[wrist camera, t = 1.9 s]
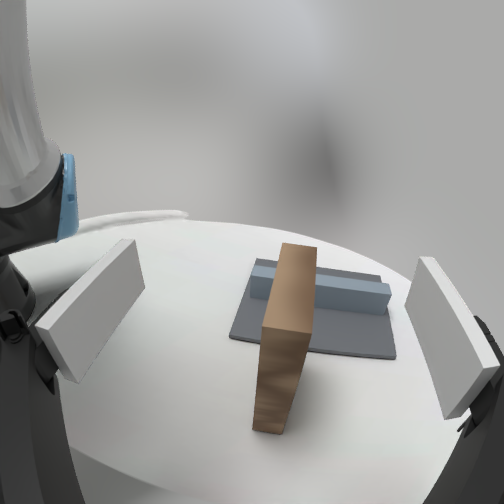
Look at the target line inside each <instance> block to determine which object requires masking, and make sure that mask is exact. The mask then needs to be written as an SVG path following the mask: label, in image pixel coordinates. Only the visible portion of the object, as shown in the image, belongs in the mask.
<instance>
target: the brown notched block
mask: <svg viewBox="0 0 504 504" xmlns="http://www.w3.org/2000/svg"><path fill="white" fill-rule="evenodd" d="M316 259H317V247H310V246H303V245H296V244H289V243H282V247H281V251H280V255H279V260H278V264H277V268H276V272H275V276H274V280H273V284H272V288H271V292H270V296H269V300H268V304H267V308H266V312H265V316H264V320H263V324H262V331H261V343H260V354H259V365H258V376H257V386H256V397H255V407H254V417H253V427H252V430H258V431H263V432H269V433H276V434H282V431H283V428H284V426H285V423H286V420H287V417H288V414H289V410H290V407H291V404H292V401H293V398H294V395H295V392H296V388H297V385H298V382H299V378H300V375H301V372H302V368H303V365H304V361H305V358H306V354H307V351H308V347H309V343H310V340H311V336H312V328H313V315H314V299H315V282H316Z"/></svg>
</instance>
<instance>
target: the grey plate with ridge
mask: <svg viewBox="0 0 504 504" xmlns="http://www.w3.org/2000/svg"><path fill="white" fill-rule="evenodd" d="M277 264H278V261H272V260H265V259H258V258H257V259H256V261H255V264H254V267H253V270H252V272H251V275H250V278H249V281H248V284H247V286H246V289H245V292H244V295H243V298H242V300H241V303H240V306H239V309H238V311H237V314H236V317H235V320H234V322H233V325H232V328H231V331H230V333H229V338H234V339H239V340H245V341H250V342H256V343H261V331H262V324H263V320H264V316H265V312H266V308H267V304H268V300H269V296H270V292H271V288H272V284H273V280H274V276H275V272H276V268H277ZM391 295H392V294H391V290H390V286H389V284H386V283H382V282H381V277H380V276H378V275H371V274H364V273H357V272H350V271H342V270H335V269H328V268H321V267H316V282H315V299H314V315H313V328H312V336H311V340H310V343H309V347H308V351H315V352H323V353H332V354H341V355H350V356H361V357H373V358H386V359H395V358H396V350H395V344H394V338H393V333H392V328H391V322H390V317H389V313H388V308H387V305H388V303H389V300H390V298H391Z"/></svg>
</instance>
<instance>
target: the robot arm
mask: <svg viewBox="0 0 504 504" xmlns="http://www.w3.org/2000/svg"><path fill="white" fill-rule="evenodd" d="M78 227H79V218H78V205H77V192H76V177H75V161H74V156H73V155H72V154H66V153H65V154H62V156H61V154H60V150H59V147H58V145H57V144H56V143H55V142H54V141H53V140H51V139H49V138H47V137H44V135H43V131H42V126H41V122H40V118H39V113H38V109H37V104H36V99H35V93H34V87H33V81H32V75H31V67H30V59H29V50H28V39H27V21H26V0H0V504H85V502H84V499H83V496H82V493H81V490H80V486H79V483H78V480H77V476H76V473H75V470H74V466H73V462H72V458H71V454H70V449H69V445H68V440H67V436H66V430H65V425H64V419H63V413H62V407H61V400H60V392H59V384H58V378H57V376H56V374H55V373H56V371H57V370H58V368H59V370H60V371H61V373H62V374H63V376H64V378H65V379H68V380H70V381H73V382H75V383H78V384H79V383H80V381H81V380H82V378H83V377H84V375H85V373H86V372H87V370H88V369H89V367H90V366H91V364H92V363H93V361H94V360H95V358H96V357H97V355H98V354H99V352H100V351H101V349H102V348H103V346H104V345H105V343H106V342H107V340H108V339H109V338H110V336H111V335H112V333H113V332H114V330H115V329H116V327H117V326H118V325H119V323H120V322H121V320H122V319H123V318H124V316H125V315H126V313H127V312H128V311H129V309H130V308H131V306H132V305H133V304H134V302H135V301H136V299H137V298H138V297H139V295H140V294H141V293H142V291H143V290H144V289H145V285H144V280H143V276H142V272H141V267H140V262H139V257H138V253H137V248H136V242H135V240H133V239H121V240H120V241H119V242H118V243H117V244H116V245H115V246H114V247H112V248H111V249H110V250H109V251H108V252H107V253H106V254H105V255H104V256H103V257H101V258H100V259H99V260H98V261H97V262H96V263H95V264H94V265H93V266H92V267H91V268H90V269H89V270H88V271H87V272H86V273H85V274H84V275H82V276H81V277H80V278H79V279H78V280H77V281H76V282H75V283H74V284H73V285H72V286H71V287H70V288H69V289H67V290H65V291H64V292H62V293H61V294H60V295H59V296H58V297H57V298H56V299H55V300H54V302H52V303H51V304H50V305H49V306H48V308H46V309H45V310H44V311H43V312H42V313H41V314H40V315H39V317H38V318H37V319H36V320H35V321H34V322H33V323H32V324H31V325H30V326H29V327H28V326H27V324H26V321H27V319H28V318H29V316H30V315H31V313H32V311H33V308H34V305H35V295H34V292H33V290H32V288H31V286H30V284H29V282H28V281H27V279H26V278H25V277H24V276H23V275H22V274H21V273H20V271H19V270H18V269H17V268H16V267H15V265H14V264H13V263H12V262H11V260H10V258H9V256H8V255H9V254H12V253H16V252H19V251H23V250H27V249H30V248H34V247H38V246H42V245H46V244H50V243H54V242H55V243H57V242H58V241H59V240H62V239H65V238H68V237H71V236H73V235H74V234H75V233H76V232H77V230H78ZM405 308H406V311H407V313H408V315H409V318H410V320H411V323H412V325H413V328H414V330H415V333H416V335H417V338H418V341H419V343H420V346H421V349H422V351H423V354H424V357H425V360H426V363H427V366H428V368H429V371H430V374H431V377H432V380H433V384H434V387H435V390H436V393H437V396H438V400H439V403H440V407H441V410H442V414H443V417H444V420H447V419H452V418H457V417H461V416H462V415H463V414H464V412H465V411H466V410H467V409H468V408H470V411H471V415H470V416H469V417H468V418H467V420H466V421H465V422H464V423H463V424H462V425H461V426H460V427H459V428H458V430H457V432H459V431H460V430H461V429H462V428H463V430H462V433H461V435H460V437H459V439H458V441H457V444H456V446H455V448H454V450H453V452H452V454H451V456H450V458H449V460H448V462H447V464H446V465H445V467H444V469H443V471H442V473H441V475H440V476H439V478H438V480H437V481H436V483H435V485H434V487H433V488H432V490H431V491H430V493H429V495H428V496H427V498H426V499H425V501H424V502H423V504H504V356H503V354H502V352H501V350H500V348H499V347H498V345H497V343H496V342H495V340H494V338H493V336H492V335H491V334H490V331H489V329H488V328H487V326H486V324H485V323H484V322H483V321H482V320H481V319H480V318H479V317H477V316H473V315H472V314H471V312H470V311H469V309H468V307H467V306H466V304H465V303H464V301H463V300H462V298H461V296H460V295H459V293H458V292H457V290H456V289H455V287H454V286H453V284H452V283H451V281H450V280H449V279H448V277H447V276H446V274H445V273H444V271H443V270H442V269H441V267H440V266H439V264H438V263H437V262H436V260H435V259H434V258H433V257H419V260H418V264H417V267H416V271H415V274H414V278H413V281H412V284H411V287H410V291H409V294H408V297H407V300H406V303H405Z"/></svg>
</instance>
